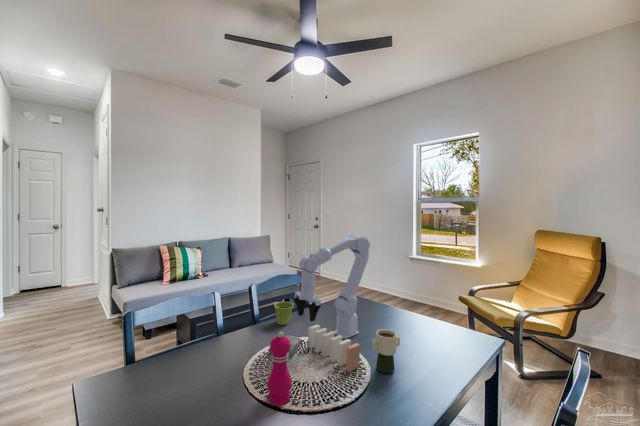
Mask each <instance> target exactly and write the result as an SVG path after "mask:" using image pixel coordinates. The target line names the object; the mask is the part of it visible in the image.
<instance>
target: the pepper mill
mask: <svg viewBox="0 0 640 426" xmlns="http://www.w3.org/2000/svg"><path fill="white" fill-rule="evenodd" d="M285 336H286V335H284V332H283V331H279V332H277V336H274V337H273V338H272V339H271V341H270V343H269V349H270V355H271V357H270V359H271V360H272V369H271V372H270V373H269V376H268V378H267V383H266V389H267V391H268V402H269V403H270V404H271V405H272V406H283V405H285V404H287V403H288V402H289V401H290V398H291V391H290V390H291V389H292V387H293V386H292V385H293V382H292V378H291V374H290V372H289V369H288V366H287V365H288V364H287V362H288V359H290V357H289V356H288V355H289V353H288V351H289V350H290V346H291V345H290V341H289V339H288V338H287V337H285ZM271 352H272V353H271Z"/></svg>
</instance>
